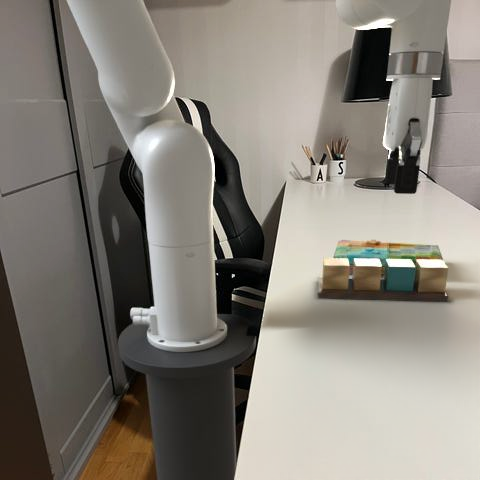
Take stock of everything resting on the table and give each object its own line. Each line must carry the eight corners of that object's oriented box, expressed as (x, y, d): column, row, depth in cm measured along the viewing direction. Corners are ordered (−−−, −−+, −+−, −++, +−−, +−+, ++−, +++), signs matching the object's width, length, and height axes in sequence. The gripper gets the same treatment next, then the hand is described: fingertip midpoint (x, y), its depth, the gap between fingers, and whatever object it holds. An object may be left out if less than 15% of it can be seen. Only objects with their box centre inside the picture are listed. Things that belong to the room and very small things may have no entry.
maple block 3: (418, 291, 86) (421, 267, 84) (413, 283, 90) (416, 259, 88) (444, 292, 85) (448, 267, 83) (438, 283, 89) (442, 260, 87)
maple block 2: (353, 290, 87) (355, 265, 85) (351, 281, 91) (353, 258, 89) (379, 290, 86) (382, 266, 85) (376, 282, 90) (378, 258, 89)
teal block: (386, 290, 86) (389, 266, 85) (383, 282, 90) (385, 258, 89) (412, 291, 86) (415, 266, 84) (408, 282, 90) (411, 259, 88)
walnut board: (318, 298, 87) (318, 292, 86) (317, 282, 94) (318, 277, 93) (447, 301, 84) (448, 296, 83) (437, 285, 91) (437, 280, 91)
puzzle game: (338, 236, 106) (438, 241, 101) (337, 258, 108) (435, 263, 103) (333, 251, 96) (445, 257, 91) (332, 275, 98) (441, 281, 93)
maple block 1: (322, 289, 88) (323, 265, 86) (321, 280, 92) (323, 257, 90) (347, 289, 87) (349, 265, 85) (346, 281, 91) (347, 258, 89)
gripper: (380, 72, 81) (369, 180, 88) (397, 64, 66) (382, 197, 72) (428, 72, 80) (413, 181, 87) (456, 64, 65) (436, 198, 72)
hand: (399, 188), depth 80 cm, fingers open, 9 cm apart
